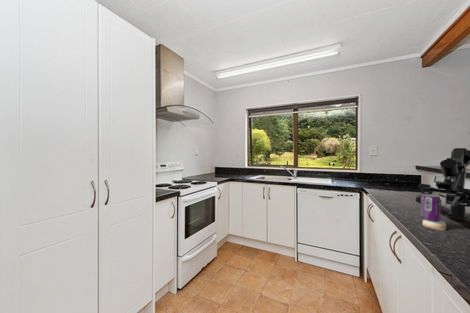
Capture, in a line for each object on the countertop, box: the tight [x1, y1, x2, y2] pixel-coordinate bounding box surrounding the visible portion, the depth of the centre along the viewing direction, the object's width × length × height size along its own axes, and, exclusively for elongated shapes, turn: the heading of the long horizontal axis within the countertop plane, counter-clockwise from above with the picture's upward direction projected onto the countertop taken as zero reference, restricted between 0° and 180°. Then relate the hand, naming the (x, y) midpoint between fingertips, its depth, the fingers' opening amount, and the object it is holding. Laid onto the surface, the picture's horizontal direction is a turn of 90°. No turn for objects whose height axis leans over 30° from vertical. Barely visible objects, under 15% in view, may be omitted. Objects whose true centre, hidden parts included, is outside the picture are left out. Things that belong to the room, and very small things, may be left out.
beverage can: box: [419, 193, 442, 222], centre depth 97 cm, size 7×7×12 cm
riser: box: [422, 218, 447, 231], centre depth 95 cm, size 8×8×3 cm
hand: (438, 204), depth 97 cm, fingers open, 9 cm apart
